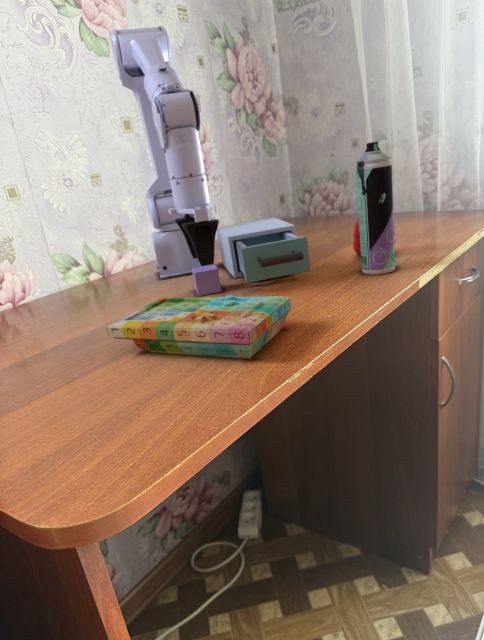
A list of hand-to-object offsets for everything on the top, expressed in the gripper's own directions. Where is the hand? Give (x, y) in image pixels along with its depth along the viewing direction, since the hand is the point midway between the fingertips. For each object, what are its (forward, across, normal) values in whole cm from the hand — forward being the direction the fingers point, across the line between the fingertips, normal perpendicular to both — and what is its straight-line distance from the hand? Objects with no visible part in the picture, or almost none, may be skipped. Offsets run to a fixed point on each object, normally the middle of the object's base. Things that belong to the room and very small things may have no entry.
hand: (203, 261), depth 84 cm
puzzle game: (+6, +24, -5) cm, 25 cm away
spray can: (+6, +10, +28) cm, 30 cm away
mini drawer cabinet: (+5, -12, +13) cm, 18 cm away
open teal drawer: (+4, -1, +12) cm, 13 cm away
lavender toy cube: (+5, 0, 0) cm, 5 cm away
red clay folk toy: (+6, 0, +32) cm, 33 cm away
